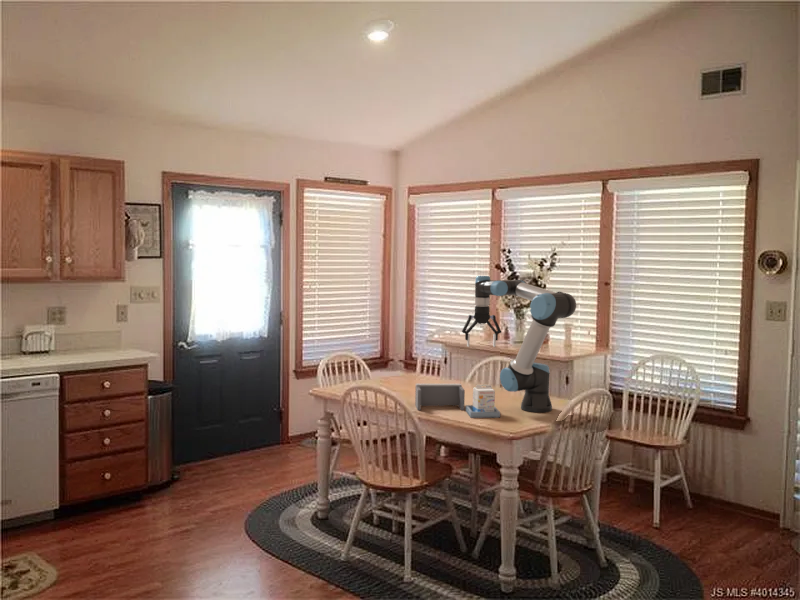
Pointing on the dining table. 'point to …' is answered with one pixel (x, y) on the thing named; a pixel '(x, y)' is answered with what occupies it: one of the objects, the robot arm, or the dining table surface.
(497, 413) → the tray
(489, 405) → the ink box
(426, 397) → the bay
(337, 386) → the dining table surface
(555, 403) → the dining table surface
